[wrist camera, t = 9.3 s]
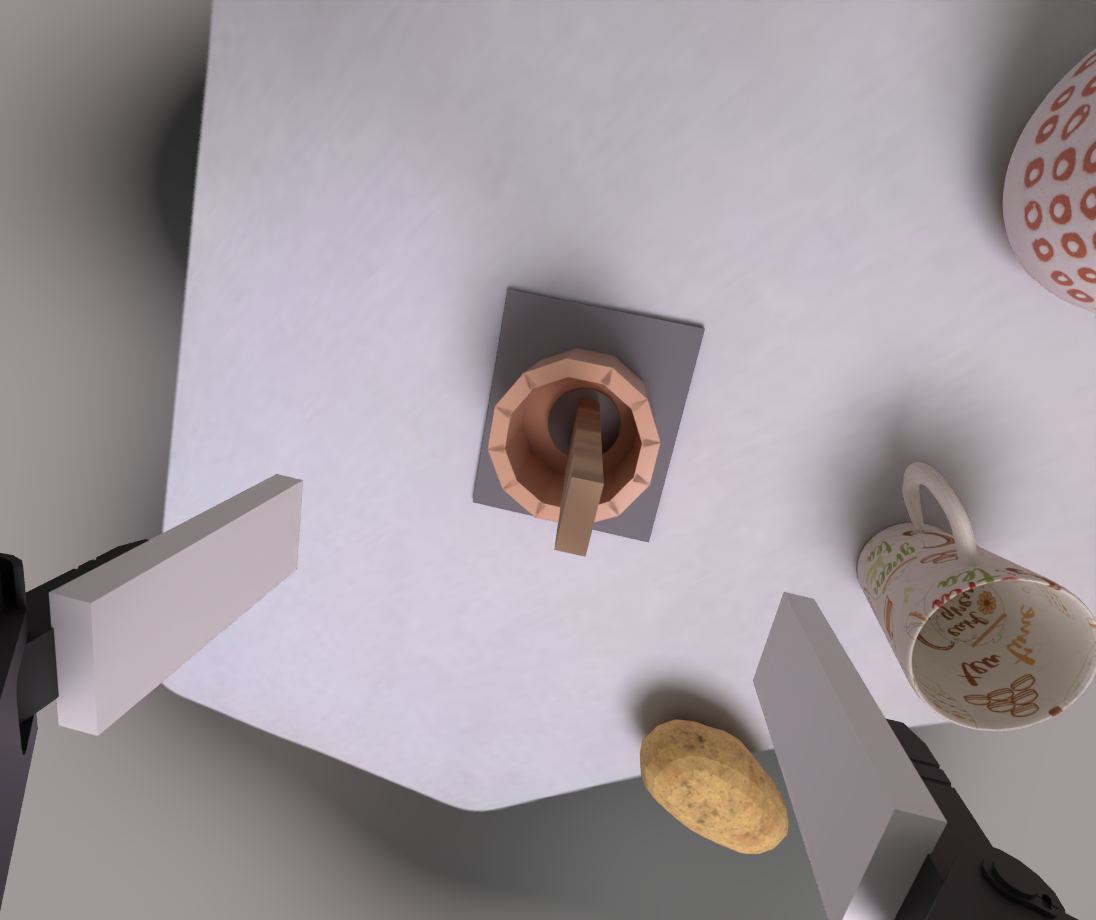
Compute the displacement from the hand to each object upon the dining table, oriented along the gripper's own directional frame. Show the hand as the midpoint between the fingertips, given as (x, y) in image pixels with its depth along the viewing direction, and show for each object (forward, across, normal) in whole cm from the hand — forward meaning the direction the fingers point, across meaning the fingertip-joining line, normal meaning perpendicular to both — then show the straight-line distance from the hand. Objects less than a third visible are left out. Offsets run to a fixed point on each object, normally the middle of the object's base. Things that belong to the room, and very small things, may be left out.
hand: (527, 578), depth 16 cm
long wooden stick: (+21, 0, 0) cm, 21 cm away
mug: (+23, +21, -4) cm, 31 cm away
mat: (+23, 0, 0) cm, 23 cm away
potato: (+23, +14, -22) cm, 35 cm away
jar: (+22, 0, 0) cm, 22 cm away
